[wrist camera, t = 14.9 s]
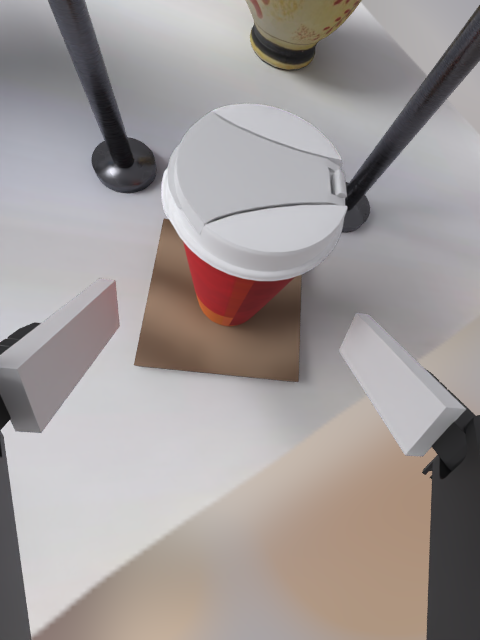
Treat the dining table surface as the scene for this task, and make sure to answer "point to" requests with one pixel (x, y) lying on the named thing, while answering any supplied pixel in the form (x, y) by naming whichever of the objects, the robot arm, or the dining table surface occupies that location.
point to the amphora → (294, 28)
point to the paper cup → (252, 205)
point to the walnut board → (214, 325)
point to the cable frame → (138, 161)
